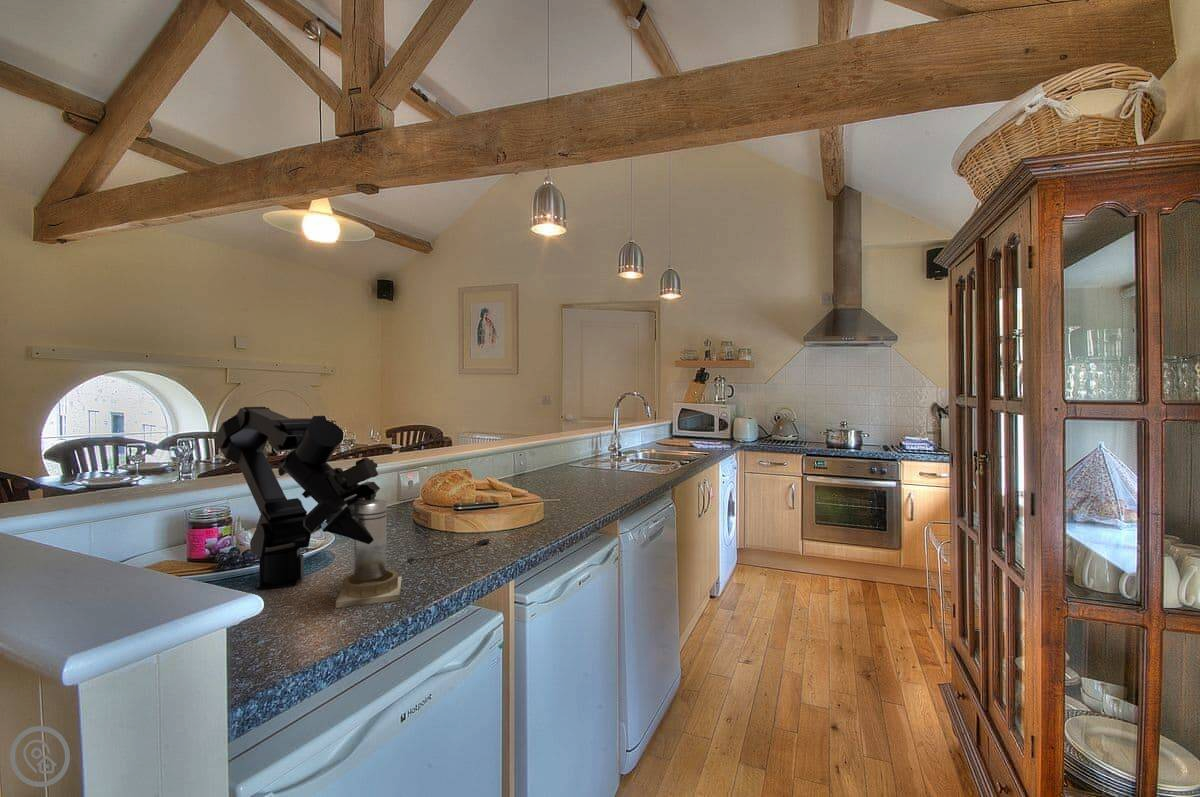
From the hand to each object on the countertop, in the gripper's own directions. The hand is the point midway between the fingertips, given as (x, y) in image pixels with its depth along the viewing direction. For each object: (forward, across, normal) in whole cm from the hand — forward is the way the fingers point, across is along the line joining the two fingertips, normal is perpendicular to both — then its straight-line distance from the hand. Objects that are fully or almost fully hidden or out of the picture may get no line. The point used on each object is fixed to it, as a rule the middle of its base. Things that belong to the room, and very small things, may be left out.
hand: (378, 537), depth 95 cm
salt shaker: (+4, 0, +6) cm, 7 cm away
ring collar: (+6, 0, +8) cm, 10 cm away
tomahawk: (+13, +24, +2) cm, 28 cm away
